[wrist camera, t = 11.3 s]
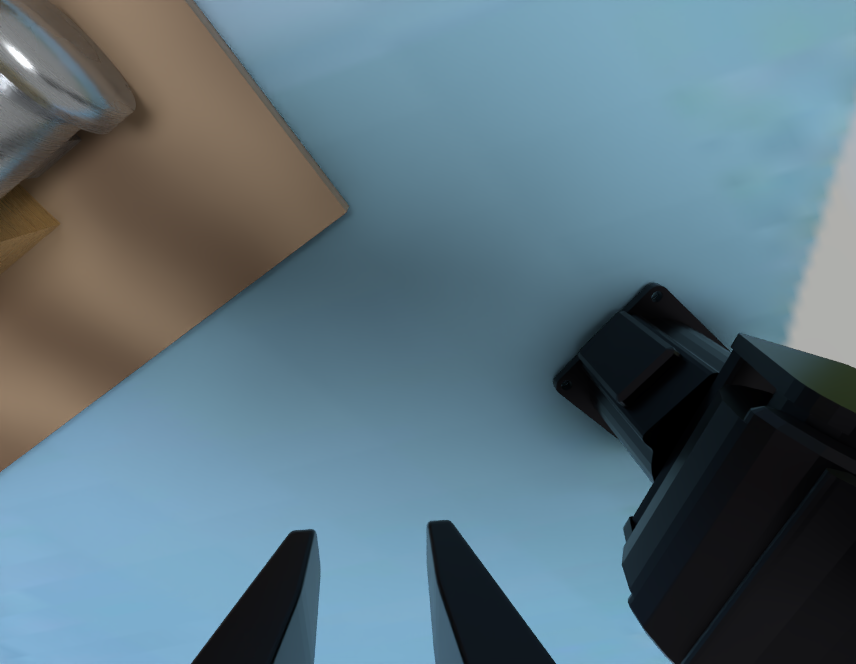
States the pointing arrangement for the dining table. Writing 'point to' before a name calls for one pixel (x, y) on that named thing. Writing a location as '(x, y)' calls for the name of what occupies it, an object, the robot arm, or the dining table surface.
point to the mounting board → (149, 217)
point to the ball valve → (46, 109)
